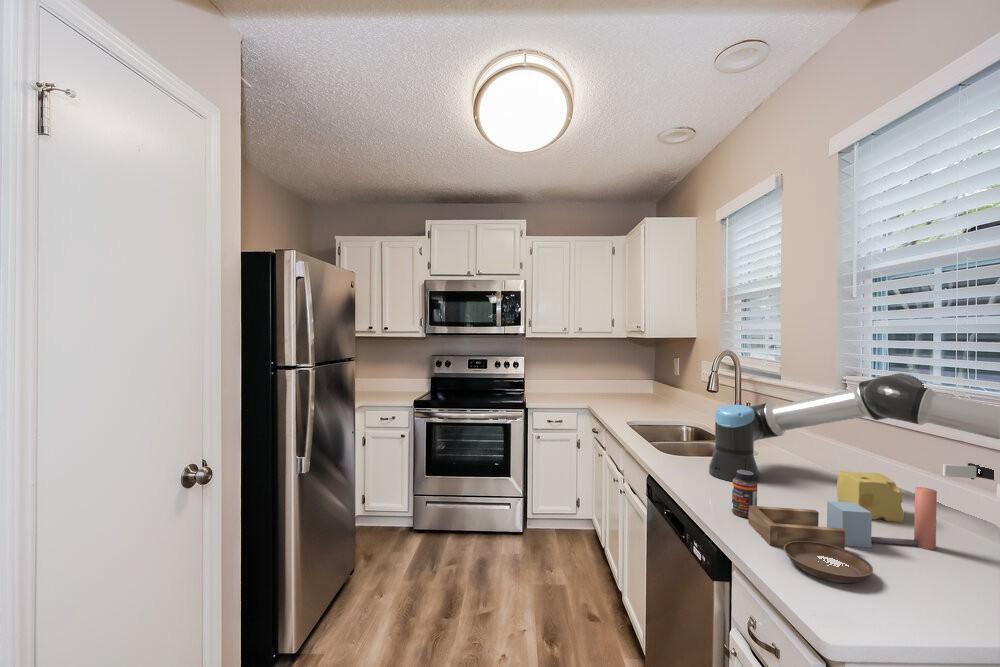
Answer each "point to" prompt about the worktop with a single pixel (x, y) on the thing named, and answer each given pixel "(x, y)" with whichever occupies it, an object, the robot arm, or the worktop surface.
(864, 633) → the worktop surface
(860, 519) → the block
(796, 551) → the saucer
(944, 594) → the worktop surface
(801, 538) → the wooden u-shaped frame
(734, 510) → the supplement bottle
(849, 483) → the cheese
